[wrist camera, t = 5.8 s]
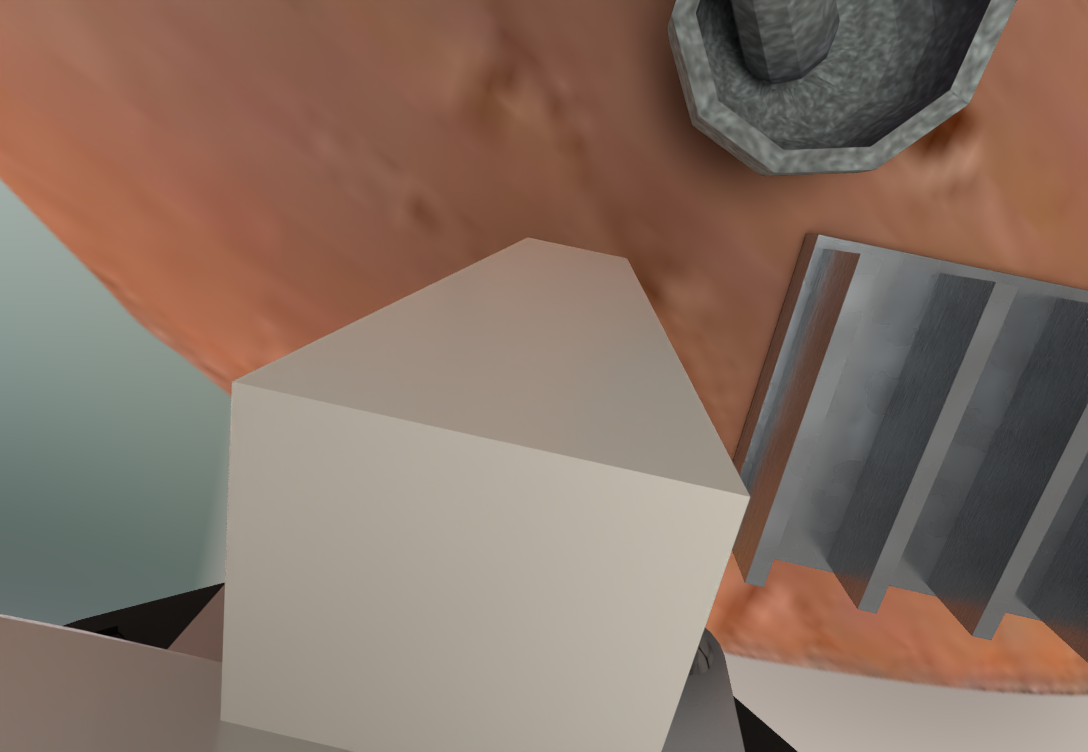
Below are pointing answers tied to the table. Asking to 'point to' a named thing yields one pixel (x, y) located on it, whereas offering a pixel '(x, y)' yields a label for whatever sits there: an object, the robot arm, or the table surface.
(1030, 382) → the rack
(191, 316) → the table surface
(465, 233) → the table surface
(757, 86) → the mortar and pestle
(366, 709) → the white flat block
